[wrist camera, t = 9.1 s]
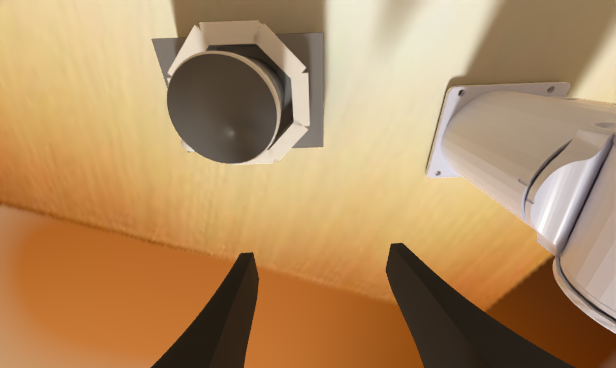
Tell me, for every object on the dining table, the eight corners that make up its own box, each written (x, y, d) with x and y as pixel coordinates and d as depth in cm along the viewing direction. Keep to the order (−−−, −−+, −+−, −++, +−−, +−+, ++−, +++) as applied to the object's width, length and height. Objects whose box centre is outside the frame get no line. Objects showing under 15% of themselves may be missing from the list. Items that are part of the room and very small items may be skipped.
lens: (300, 94, 14) (301, 113, 9) (257, 143, 16) (236, 183, 11) (243, 35, 13) (204, 18, 8) (200, 96, 14) (143, 116, 9)
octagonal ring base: (320, 28, 15) (326, 17, 11) (320, 140, 19) (325, 161, 15) (174, 33, 15) (130, 24, 11) (205, 144, 19) (180, 167, 15)
